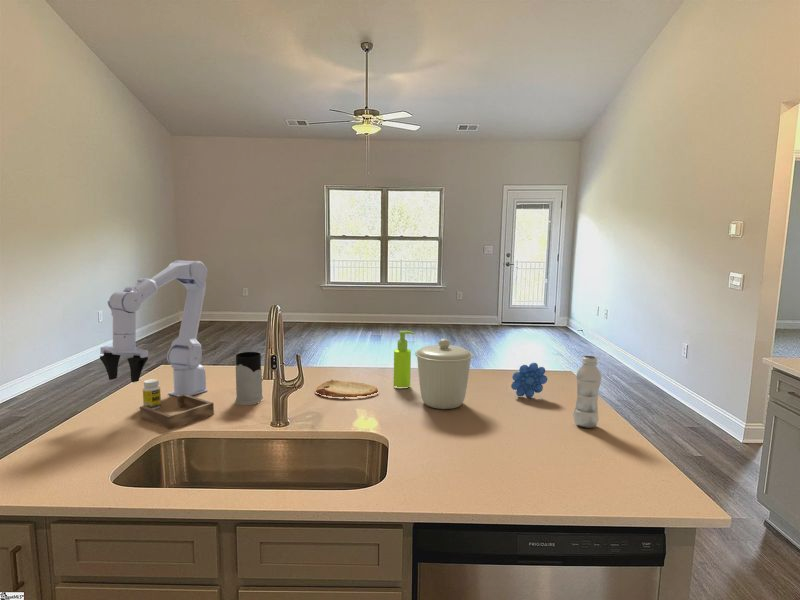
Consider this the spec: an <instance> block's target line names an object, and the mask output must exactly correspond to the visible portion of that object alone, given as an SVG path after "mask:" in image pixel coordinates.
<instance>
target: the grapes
mask: <svg viewBox="0 0 800 600" xmlns="http://www.w3.org/2000/svg"><path fill="white" fill-rule="evenodd" d="M518 370H519V371H516V372H514V373H513V374H512V377H511V378H512V380H513V382H512V383H511V385H510V388H511V389H512V390H514V391H516V392H515V394H516V396H517V397H523V396H525V397H526V398H528V399H529V398H530V399H531V398H532V397H533V396H534V395H535V394H540V393H542V392H543V389H544V385H545V384H546V383H547V381H548V376H547V375H546V374H545V373H546V368H545V367H544V366H539V365H538V363H537V362H531V363H530V364H529V365H527V364H521V366H519V369H518Z"/></svg>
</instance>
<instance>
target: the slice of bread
mask: <svg viewBox="0 0 800 600" xmlns="http://www.w3.org/2000/svg"><path fill="white" fill-rule="evenodd" d="M325 388H326V389H325ZM316 389H317V390H316ZM316 389H315V390H316V392H317V393H319V394H321V395H326V396H332V397H344V398H345V397H357V396H367V395H371V394H374V393H377V392H378V391H379V390H378V388H377V387H376V386H375V385H372V384H368V383H361V382H354V381H344V380H343V381H342V380H336V379H335V380H334V379H331V380H329V381H325V382H323V383H321V384H320V385H319V386H317V388H316Z"/></svg>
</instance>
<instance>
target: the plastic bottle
mask: <svg viewBox="0 0 800 600" xmlns="http://www.w3.org/2000/svg"><path fill="white" fill-rule="evenodd" d="M581 363H582V365H581V366H580V367H579V369H578V370H577V373H576V384H577V385H576V387H577V389H576V391H577V392H576V393H577V395H576V397H577V398H576V403H575V408H574V411H573V421H574V423H575V424H576V425H577V426H579V427H582V428H586V429H587V428H590V429H591V428H595V427H596V426H597V425H598V423H599V411H598V409H599V406H598V398H599V392H600V387H601V382H602V373H601V372H600V369H598V367H597V365H598V357H596V356H594V355H583V356H582V361H581Z"/></svg>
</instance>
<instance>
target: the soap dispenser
mask: <svg viewBox="0 0 800 600" xmlns="http://www.w3.org/2000/svg"><path fill="white" fill-rule="evenodd" d="M398 334H399V339H398V340H397V348H396V349H394V350H393V387H394V386H397V387H409V386H410V387H411V366H412V365H411V362H412V361H411V360H412V359H411V358H412V357H411V356H412V351H411V349H409V348H408V339H406V334H409V335H414V334H415V332H414V331H411V330H398Z"/></svg>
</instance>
